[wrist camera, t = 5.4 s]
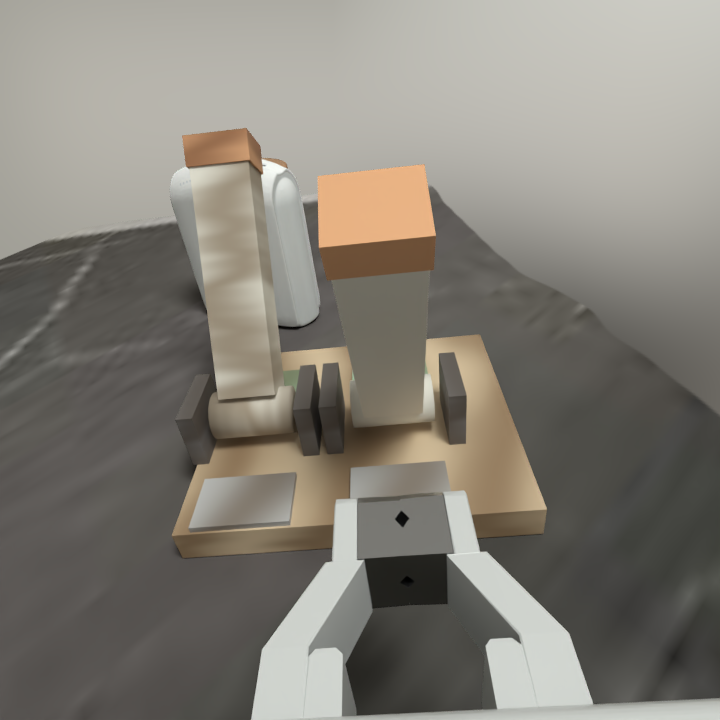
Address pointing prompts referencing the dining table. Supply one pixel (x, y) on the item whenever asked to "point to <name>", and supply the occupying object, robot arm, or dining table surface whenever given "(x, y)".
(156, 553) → the dining table surface
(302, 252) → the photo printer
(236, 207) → the console
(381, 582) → the robot arm
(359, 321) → the lever
